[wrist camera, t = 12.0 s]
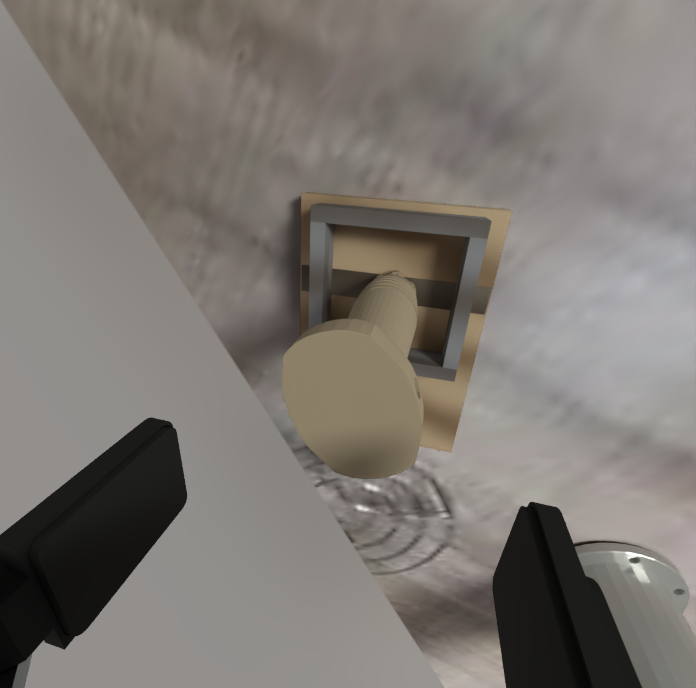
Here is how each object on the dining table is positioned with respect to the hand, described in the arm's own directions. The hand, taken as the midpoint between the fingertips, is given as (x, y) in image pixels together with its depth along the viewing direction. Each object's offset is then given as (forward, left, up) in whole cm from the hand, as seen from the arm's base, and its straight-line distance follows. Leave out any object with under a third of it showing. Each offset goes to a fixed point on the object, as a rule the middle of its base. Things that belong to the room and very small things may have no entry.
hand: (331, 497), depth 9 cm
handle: (0, 0, -19) cm, 19 cm away
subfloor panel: (-4, 0, -20) cm, 21 cm away
